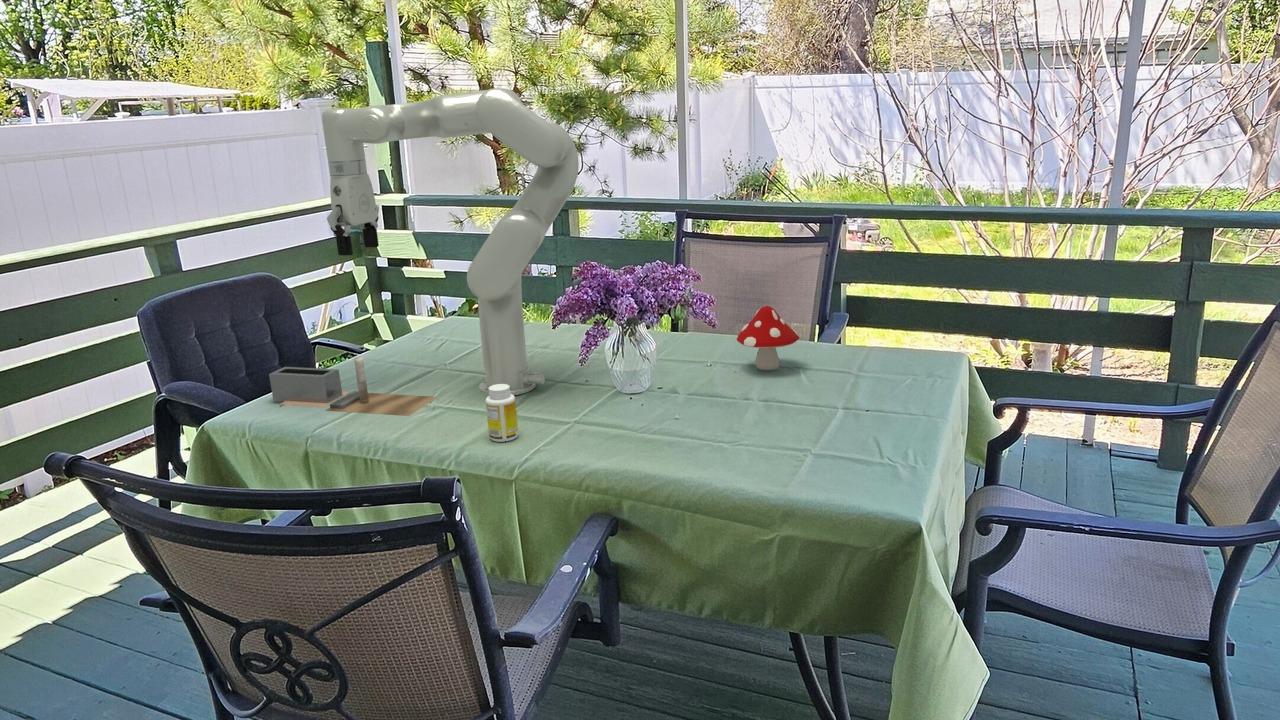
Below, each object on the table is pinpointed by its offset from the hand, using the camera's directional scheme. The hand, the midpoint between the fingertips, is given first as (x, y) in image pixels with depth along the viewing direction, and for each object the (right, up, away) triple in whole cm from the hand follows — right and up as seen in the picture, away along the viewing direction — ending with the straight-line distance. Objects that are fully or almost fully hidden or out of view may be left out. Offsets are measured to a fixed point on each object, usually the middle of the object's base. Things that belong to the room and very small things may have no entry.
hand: (359, 250), depth 192 cm
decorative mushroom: (+90, -26, +13) cm, 94 cm away
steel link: (-13, -32, +6) cm, 35 cm away
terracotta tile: (-11, -32, +6) cm, 35 cm away
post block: (+5, -33, 0) cm, 34 cm away
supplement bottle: (+34, -38, -20) cm, 55 cm away
